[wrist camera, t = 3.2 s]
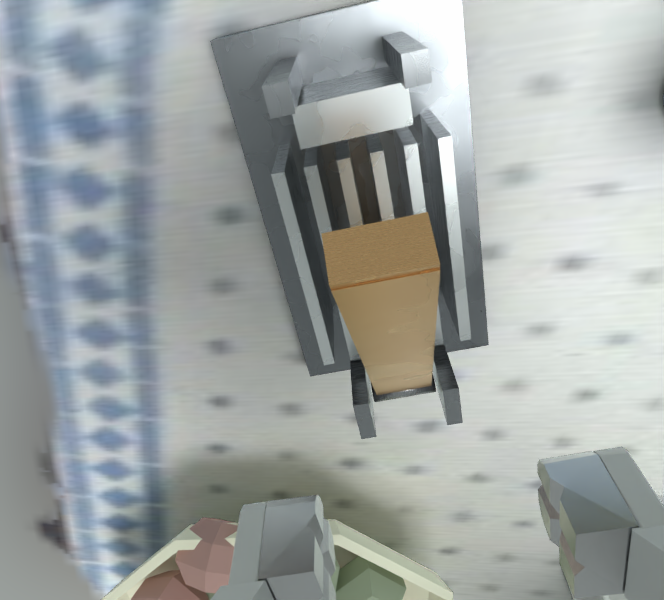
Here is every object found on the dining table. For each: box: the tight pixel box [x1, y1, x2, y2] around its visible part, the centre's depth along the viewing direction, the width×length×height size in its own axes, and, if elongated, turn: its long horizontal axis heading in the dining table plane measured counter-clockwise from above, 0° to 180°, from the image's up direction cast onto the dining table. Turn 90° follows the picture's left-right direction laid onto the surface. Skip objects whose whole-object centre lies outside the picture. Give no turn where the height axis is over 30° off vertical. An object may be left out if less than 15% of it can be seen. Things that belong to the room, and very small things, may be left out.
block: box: [321, 212, 440, 402], centre depth 22 cm, size 17×3×2 cm
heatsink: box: [210, 0, 488, 439], centre depth 28 cm, size 21×12×9 cm, turn 12°
